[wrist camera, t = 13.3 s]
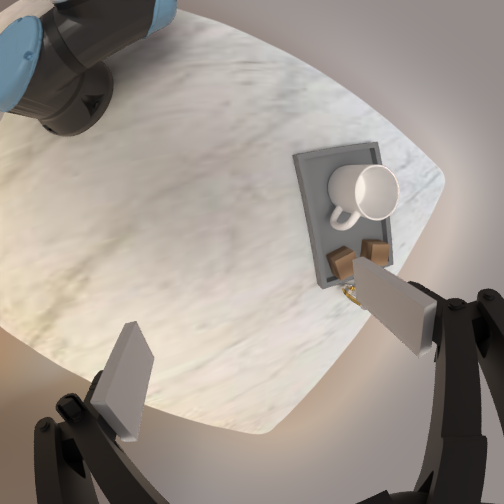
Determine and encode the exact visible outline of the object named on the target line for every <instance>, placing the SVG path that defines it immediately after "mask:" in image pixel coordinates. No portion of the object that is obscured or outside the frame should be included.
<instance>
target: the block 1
mask: <svg viewBox="0 0 504 504" xmlns="http://www.w3.org/2000/svg"><path fill="white" fill-rule="evenodd" d="M326 257H327V260H328V263H329V266H330V269H331V272H332V274H333V275H335V276H336V277H337V278H338V279H339V280H341V281H342V280H344V279H346V278H348V277H350V276H351V275H353V274H354V270H353V261H352V260H354V259H357V258H356V255H355V251H353V250H351V249H350V248H348V247H346V246H342V247H340V248H338V249H336V250H334V251H332V252H330V253H328V254H326Z"/></svg>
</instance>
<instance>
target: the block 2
mask: <svg viewBox="0 0 504 504" xmlns="http://www.w3.org/2000/svg"><path fill="white" fill-rule="evenodd" d="M389 250H390V244H388V243H386V242H384V241H381V240H379V239H362V244H361V253H360V257H365V258H367V259H368V260H370V261H372V262H374V263H375V264H377V265H379V266H383V265H387V263H388V257H389Z"/></svg>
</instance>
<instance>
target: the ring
mask: <svg viewBox="0 0 504 504" xmlns="http://www.w3.org/2000/svg"><path fill="white" fill-rule="evenodd" d="M342 291H343V293H344V294H345V295H346V296H347V297H348V298H349V299H350V300H351V301H353V302H354V303H356V304H357V305H359V306H360V307H361V308H362V309H364V310H367V309H366V308H365V307H363V306H362V305H361V304H360V303H359V302H358V301H357V300H356V298H354V297H353V296H351V295H350V294H352V295H354V296H356V293H355V292H356V291H355V287H354V286H352V285H348V284H344V286H343V288H342ZM353 291H355V292H353ZM348 292H349V293H350V294H349V293H348Z"/></svg>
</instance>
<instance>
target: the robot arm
mask: <svg viewBox="0 0 504 504" xmlns="http://www.w3.org/2000/svg"><path fill="white" fill-rule="evenodd" d="M51 2H52V3H53V4H54V6H55V7H53V8H52V9H51V10H49V11H48V12H47V13H45V14H44V15H43V16H41V17H40V18H38V17H36V16H25V17H23V18H19V19H17V20H15V21H14V22H13V23H11V24H10V25H9V26H8V27H7V28H6V29H5V30H4V31H3V32H2V33H1V34H0V111H1V112H8V113H13V114H18V115H22V116H27V117H31V118H36V119H38V121H39V122H40V123H41V124H42V125H43V127H44V128H45V129H46V130H48V131H49V132H51V133H53V134H56V135H60V136H74V135H77V134H80V133H82V132H84V131H86V130H87V129H89V128H90V127H91V126H92V125H94V124H95V123H96V122H97V121H98V120H99V118H100V117H101V116H102V114H103V113H104V111H105V110H106V108H107V106H108V104H109V102H110V99H111V96H112V91H113V78H112V75H111V72H110V70H109V69H108V67H107V66H106V65H105V64H104V63H103V62H102V60H104V59H106V58H107V57H109V56H110V55H112V54H114V53H116V52H117V51H119V50H121V49H122V48H124V47H126V46H128V45H130V44H132V43H133V42H135V41H137V40H139V39H141V38H142V39H145V38H147V37H148V36H149V35H150V34H152V33H153V32H155V31H157V30H159V29H161V28H163V27H165V26H167V25H168V24H170V23H171V21H172V20H173V19H174V17H175V14H176V9H177V0H51ZM352 261H353V270H354V280H355V291H356V300H357V301H358V302H359V303H360V304H361V305H362V306H363V307H365V308H366V309H367V310H368V311H369V312H370V313H371V314H372V315H373V316H375V317H376V318H377V319H378V320H379V321H380V322H381V323H382V324H383V325H385V326H386V327H387V328H388V329H389V330H390V331H391V332H392V333H393V334H394V335H395V336H396V337H397V338H398V339H400V340H401V341H402V342H403V343H404V344H405V345H406V346H407V347H408V348H409V349H410V350H411V351H412V352H413V353H414V354H415V355H417V356H418V357H420V356H422V355H424V354H425V353H427V352H429V351H431V345H432V341H434V342H435V343H436V344H437V348H436V354H435V359H434V362H436V370H435V386H434V399H433V407H432V415H431V423H430V430H429V435H428V441H427V446H426V451H425V456H424V461H423V465H422V469H421V473H420V475H419V478H418V480H417V483H416V485H415V488H414V491H407V492H399V493H393V494H389V493H388V491H387V490H385V491H383V492H381V493H379V494H377V495H375V496H372V497H370V498H368V499H366V500H364V501H361V502H359V503H357V504H493V503H481V497H482V491H483V484H484V477H485V469H486V458H487V438H486V436H482V434H481V388H480V377H479V366H478V362H479V364H480V366H481V369H482V371H483V374H484V376H485V379H486V381H487V384H488V386H489V389H490V392H491V395H492V398H493V401H494V404H495V407H496V410H497V413H498V416H499V420H500V423H501V427H502V430H503V435H504V299H503V298H502V297H501V295H500V294H499V293H498V292H497V291H495V290H493V289H483V290H480V291H479V292H478V296H477V301H474V302H470V303H467V302H465V301H464V300H462V299H459V298H452V299H448V300H446V299H444V298H442V297H441V296H439V295H438V294H436V293H434V292H433V291H430V290H429V289H428V288H425V287H424V286H423V285H421V284H419V283H416V282H412V281H410V282H405V281H404V280H402V279H400V278H399V277H397V276H396V275H394V274H392V273H391V272H389V271H387V270H385V269H384V268H382V267H380V266H379V265H377V264H375V263H374V262H372V261H370V260H368V259H367V258H365V257H360V258H357V259H354V260H352ZM153 362H154V356H153V354H152V352H151V350H150V348H149V346H148V344H147V342H146V340H145V338H144V336H143V334H142V332H141V330H140V328H139V326H138V324H137V321H134V322H130V323H126V324H125V325H124V327H123V329H122V331H121V333H120V335H119V338H118V340H117V342H116V344H115V346H114V348H113V350H112V352H111V355H110V357H109V359H108V361H107V363H106V366H105V368H104V370H101V371H99V372H98V374H97V375H96V376H95V377H94V379H93V381H92V385H91V386H90V388H89V391H88V393H87V395H86V397H85V400H84V402H82V401H81V399H80V398H79V397H78V395H77V394H74V393H71V394H67V395H65V396H63V397H62V398H60V400H59V401H58V402H57V404H56V410H57V412H58V413H59V414H60V415H61V417H62V418H63V419H64V420H65V422H61V423H58V424H57V423H56V422H55V421H54V420H53V419H52V418H50V417H45V418H43V419H41V420H39V421H38V423H37V424H36V426H35V430H34V467H35V468H34V469H35V485H36V494H37V503H38V504H99V502H98V499H97V495H96V492H95V489H94V485H93V482H92V478H91V474H90V471H91V473H92V475H93V477H94V478H95V480H96V482H97V483H98V485H99V487H100V488H101V490H102V491H103V493H104V495H105V496H106V498H107V499H108V501H109V502H110V504H169V502H168V501H167V500H166V499H165V498H164V497H163V496H162V495H161V494H160V493H159V492H158V491H157V490H156V489H155V488H154V487H153V486H152V485H151V484H150V482H149V481H148V480H147V479H146V478H145V477H144V476H143V475H142V473H141V472H140V471H139V470H138V469H137V467H136V466H135V465H134V464H133V462H131V460H130V459H129V457H128V456H127V455H126V453H125V452H124V451H123V449H122V448H121V447H120V446H119V444H118V443H117V442H116V441H115V439H116V434H117V435H118V436H119V437H120V439H121V440H122V441H137V438H138V433H139V428H140V422H141V417H142V412H143V407H144V402H145V397H146V393H147V388H148V383H149V379H150V375H151V370H152V366H153Z"/></svg>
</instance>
